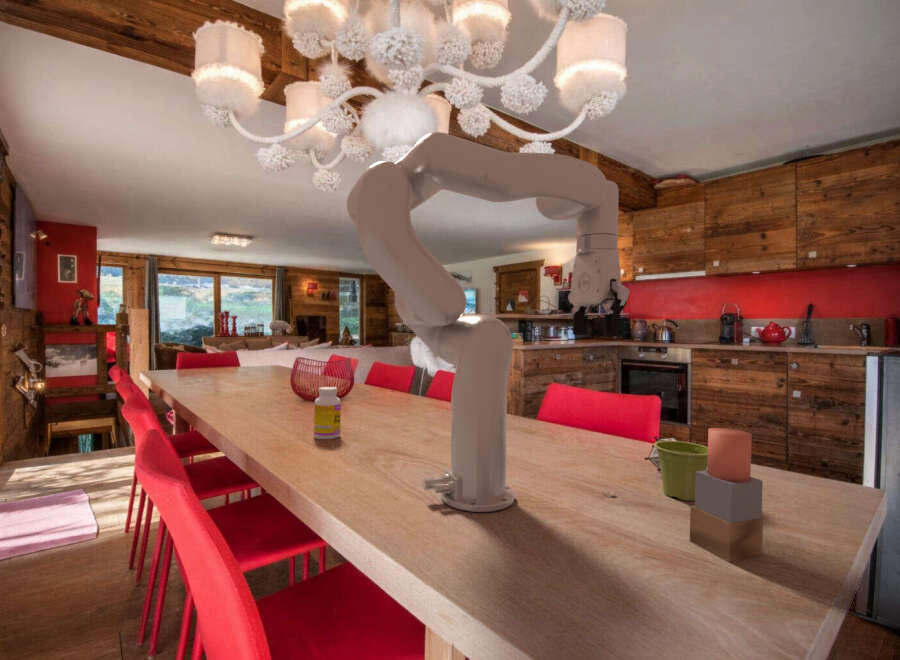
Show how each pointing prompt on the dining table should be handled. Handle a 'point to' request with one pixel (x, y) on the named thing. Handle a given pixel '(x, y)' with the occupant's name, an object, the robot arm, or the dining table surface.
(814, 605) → the dining table surface
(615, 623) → the dining table surface
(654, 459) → the game die
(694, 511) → the tower base
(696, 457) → the plant pot
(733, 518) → the tower top
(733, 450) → the cylinder
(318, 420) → the supplement bottle
